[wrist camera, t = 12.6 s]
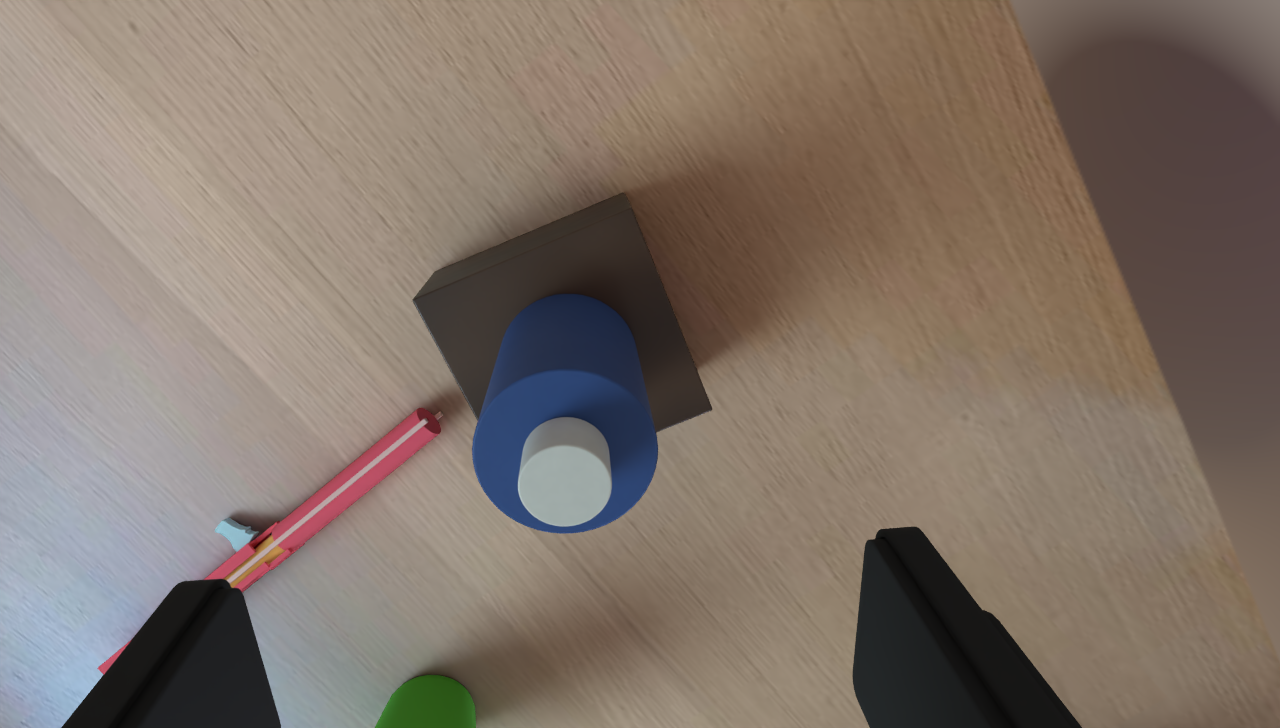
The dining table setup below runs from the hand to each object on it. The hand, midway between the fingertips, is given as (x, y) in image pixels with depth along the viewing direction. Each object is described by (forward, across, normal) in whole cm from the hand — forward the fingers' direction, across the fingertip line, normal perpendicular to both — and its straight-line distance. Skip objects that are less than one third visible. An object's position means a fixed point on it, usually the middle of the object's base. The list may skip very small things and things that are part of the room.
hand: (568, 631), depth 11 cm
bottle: (+21, 0, +4) cm, 21 cm away
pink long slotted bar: (+26, +18, +15) cm, 35 cm away
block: (+26, 0, +4) cm, 26 cm away
